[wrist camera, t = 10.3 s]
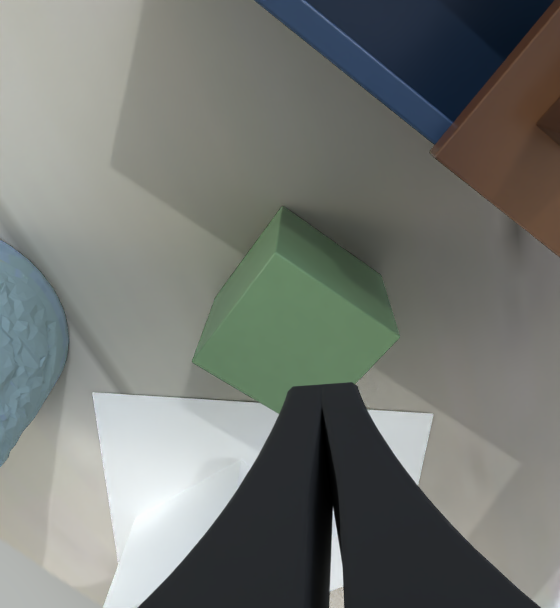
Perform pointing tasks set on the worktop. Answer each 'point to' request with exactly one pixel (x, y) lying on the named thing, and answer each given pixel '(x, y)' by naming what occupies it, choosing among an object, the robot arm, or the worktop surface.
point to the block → (296, 316)
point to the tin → (414, 48)
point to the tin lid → (516, 134)
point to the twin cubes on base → (196, 476)
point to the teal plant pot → (26, 344)
